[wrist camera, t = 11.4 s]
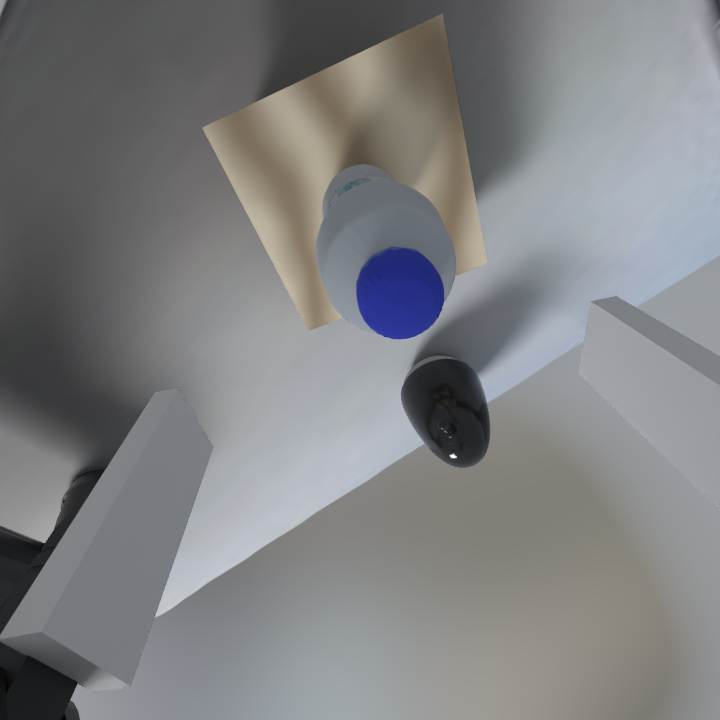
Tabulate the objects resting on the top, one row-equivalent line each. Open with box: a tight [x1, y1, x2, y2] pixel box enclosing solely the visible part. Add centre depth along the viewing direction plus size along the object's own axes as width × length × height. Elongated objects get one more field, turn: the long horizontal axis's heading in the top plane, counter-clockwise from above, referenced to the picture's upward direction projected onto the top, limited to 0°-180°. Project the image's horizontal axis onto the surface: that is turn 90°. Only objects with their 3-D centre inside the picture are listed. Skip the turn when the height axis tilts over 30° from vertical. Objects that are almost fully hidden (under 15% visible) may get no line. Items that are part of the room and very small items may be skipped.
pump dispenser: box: [401, 355, 490, 468], centre depth 44 cm, size 10×10×15 cm
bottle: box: [316, 164, 456, 339], centre depth 21 cm, size 7×7×20 cm
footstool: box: [202, 13, 487, 331], centre depth 33 cm, size 18×18×8 cm
